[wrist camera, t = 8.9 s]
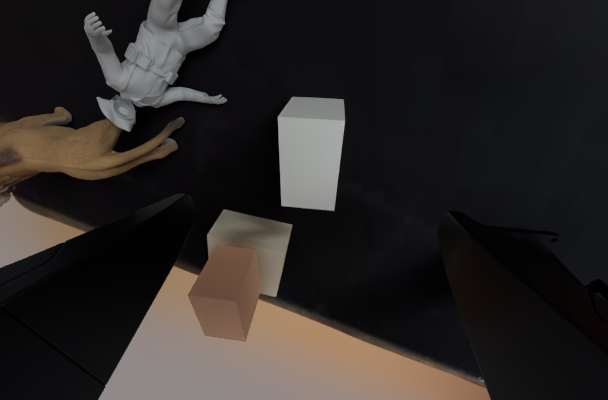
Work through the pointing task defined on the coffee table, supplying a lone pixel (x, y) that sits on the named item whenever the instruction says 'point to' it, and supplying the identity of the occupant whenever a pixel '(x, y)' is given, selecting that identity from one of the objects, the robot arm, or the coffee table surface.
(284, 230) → the birch block
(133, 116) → the soldier figure
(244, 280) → the terracotta brick
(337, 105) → the off-white brick
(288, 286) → the coffee table surface
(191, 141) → the coffee table surface
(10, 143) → the lion figurine
